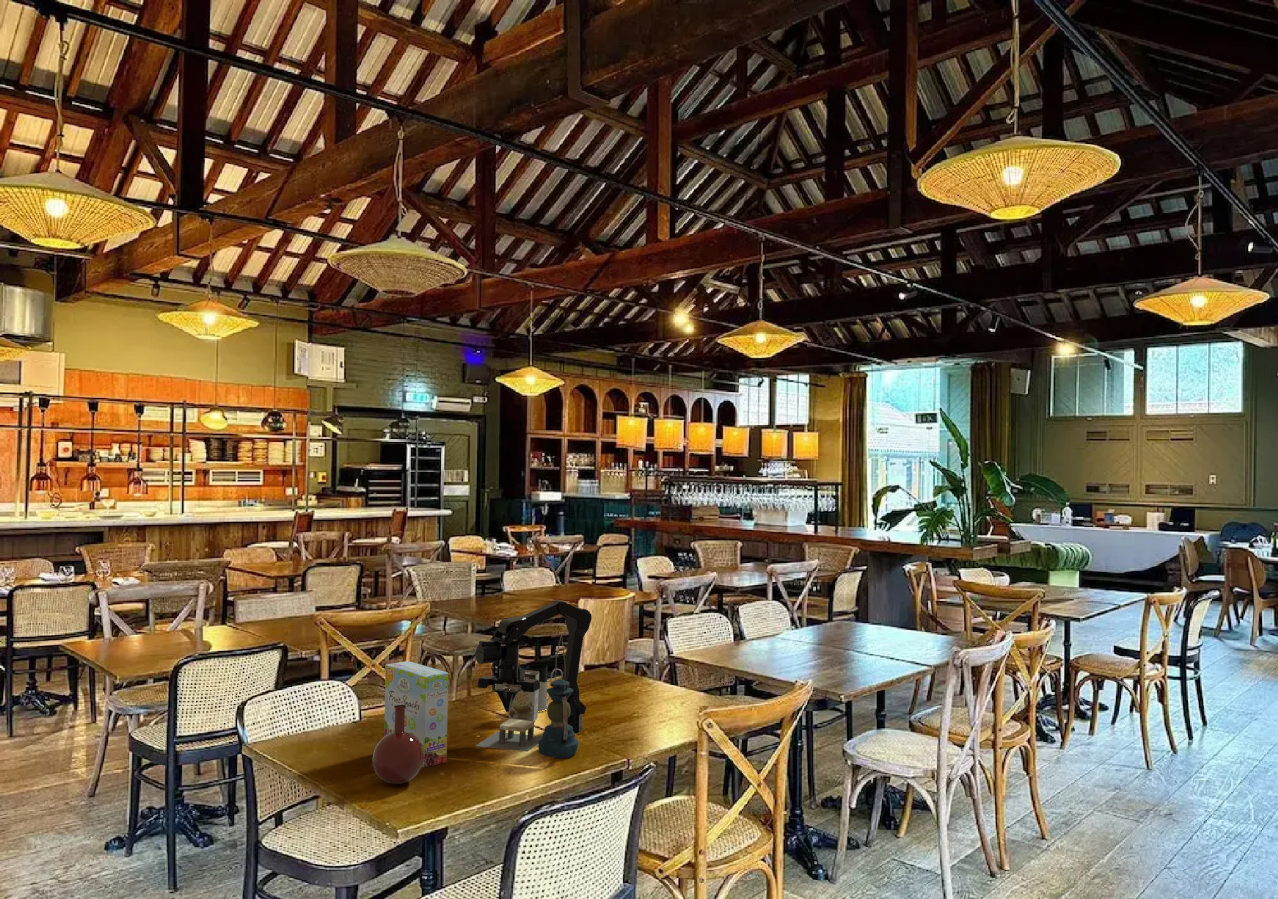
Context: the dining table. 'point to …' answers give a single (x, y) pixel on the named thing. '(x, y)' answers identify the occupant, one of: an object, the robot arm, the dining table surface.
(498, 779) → the dining table surface
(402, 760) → the round-bottom flask
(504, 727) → the footstool
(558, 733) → the lantern
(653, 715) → the dining table surface
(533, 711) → the coffee box
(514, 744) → the rubber mat
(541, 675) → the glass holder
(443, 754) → the snack box
